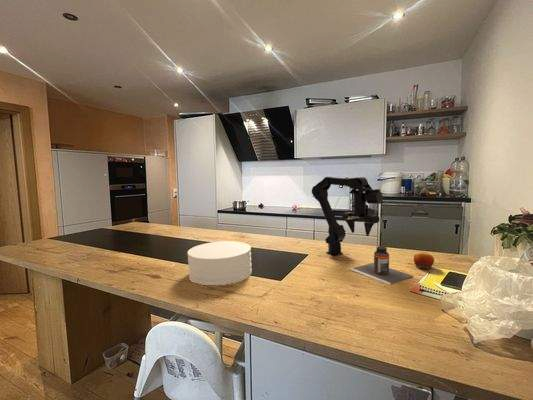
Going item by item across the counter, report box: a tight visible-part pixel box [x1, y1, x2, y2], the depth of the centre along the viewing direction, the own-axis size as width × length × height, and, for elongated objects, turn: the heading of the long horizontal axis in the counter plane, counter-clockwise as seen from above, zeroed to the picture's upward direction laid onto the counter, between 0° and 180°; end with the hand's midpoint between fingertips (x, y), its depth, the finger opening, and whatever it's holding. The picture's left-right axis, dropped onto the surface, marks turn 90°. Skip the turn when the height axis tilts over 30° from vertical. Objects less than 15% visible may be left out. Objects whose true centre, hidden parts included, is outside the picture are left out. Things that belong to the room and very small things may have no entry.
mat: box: [349, 262, 414, 286], centre depth 116 cm, size 20×16×1 cm
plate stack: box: [187, 240, 253, 286], centre depth 122 cm, size 28×28×12 cm
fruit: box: [413, 251, 435, 271], centre depth 121 cm, size 8×8×8 cm
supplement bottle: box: [373, 245, 390, 275], centre depth 115 cm, size 6×6×11 cm
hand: (360, 234), depth 133 cm, fingers open, 9 cm apart
